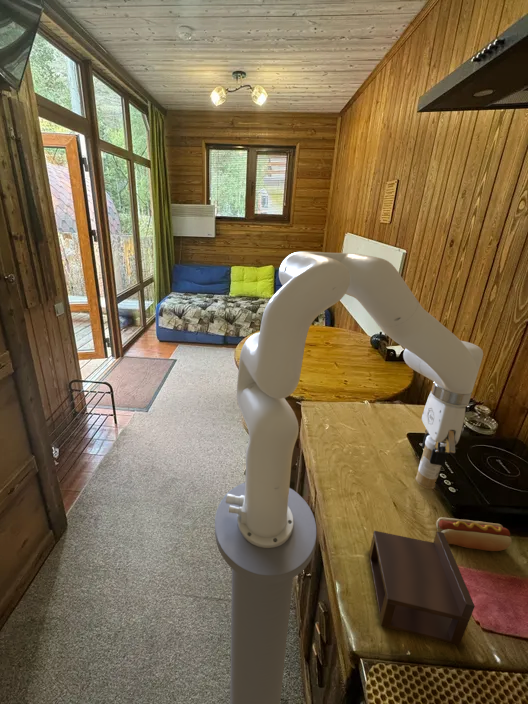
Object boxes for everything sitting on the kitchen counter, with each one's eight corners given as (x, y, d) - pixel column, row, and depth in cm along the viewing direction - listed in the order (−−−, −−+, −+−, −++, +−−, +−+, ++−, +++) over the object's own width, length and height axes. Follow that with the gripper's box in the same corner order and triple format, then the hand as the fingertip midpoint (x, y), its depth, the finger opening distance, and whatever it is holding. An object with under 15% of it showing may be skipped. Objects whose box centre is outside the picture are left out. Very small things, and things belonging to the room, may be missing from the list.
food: (495, 532, 69) (501, 516, 67) (513, 558, 63) (520, 541, 62) (429, 525, 70) (434, 508, 69) (441, 550, 65) (447, 532, 63)
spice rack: (381, 626, 53) (391, 586, 49) (368, 555, 64) (376, 519, 61) (459, 646, 50) (475, 606, 47) (432, 569, 61) (443, 532, 58)
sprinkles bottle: (422, 473, 83) (433, 432, 79) (439, 486, 79) (452, 443, 75) (411, 479, 81) (422, 437, 77) (428, 492, 77) (440, 448, 73)
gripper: (420, 374, 80) (406, 432, 86) (447, 410, 65) (428, 479, 70) (452, 378, 79) (436, 437, 85) (488, 416, 63) (464, 486, 69)
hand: (432, 455), depth 77 cm, fingers closed on sprinkles bottle, 4 cm apart
